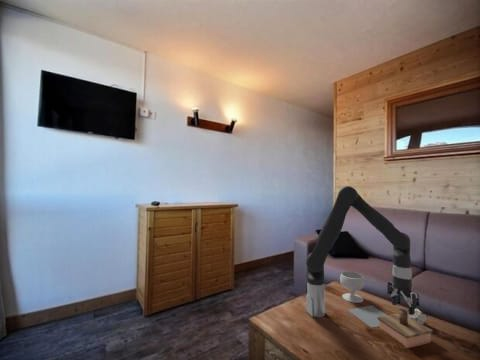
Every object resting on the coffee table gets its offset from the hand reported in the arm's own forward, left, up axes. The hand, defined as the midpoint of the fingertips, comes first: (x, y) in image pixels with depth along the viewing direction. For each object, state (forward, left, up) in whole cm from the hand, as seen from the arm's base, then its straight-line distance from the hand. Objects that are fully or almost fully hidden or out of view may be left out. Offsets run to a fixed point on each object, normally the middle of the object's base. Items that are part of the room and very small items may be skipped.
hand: (402, 309), depth 107 cm
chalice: (+2, +36, -12) cm, 38 cm away
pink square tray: (0, 0, -12) cm, 12 cm away
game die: (+14, +5, -12) cm, 20 cm away
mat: (-2, +17, -12) cm, 21 cm away
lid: (0, 0, -8) cm, 8 cm away
